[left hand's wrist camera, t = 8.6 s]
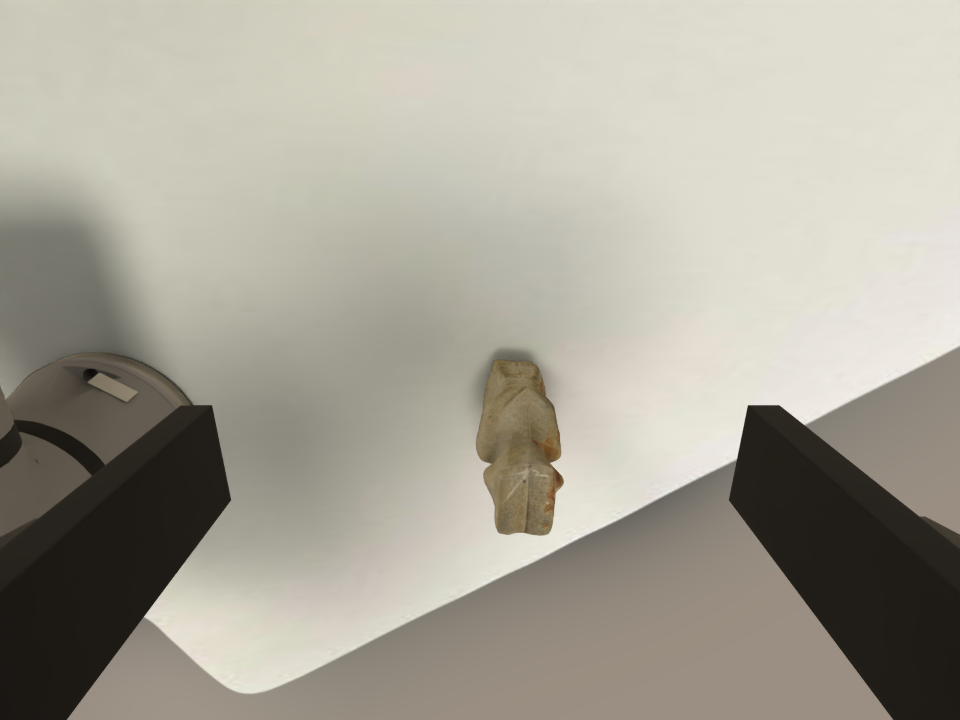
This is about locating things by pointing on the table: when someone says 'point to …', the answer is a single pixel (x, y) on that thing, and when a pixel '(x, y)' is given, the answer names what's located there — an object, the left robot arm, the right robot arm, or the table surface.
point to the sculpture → (519, 448)
